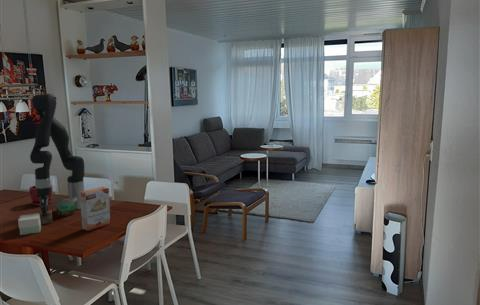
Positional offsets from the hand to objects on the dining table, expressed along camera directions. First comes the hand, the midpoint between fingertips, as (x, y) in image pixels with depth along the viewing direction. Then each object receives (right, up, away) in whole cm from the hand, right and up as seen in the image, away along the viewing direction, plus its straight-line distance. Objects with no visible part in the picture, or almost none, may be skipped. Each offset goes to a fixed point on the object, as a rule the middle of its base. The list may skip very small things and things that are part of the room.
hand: (45, 214), depth 203 cm
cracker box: (+31, -6, -5) cm, 32 cm away
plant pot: (-21, +1, +35) cm, 41 cm away
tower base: (-1, -7, -12) cm, 14 cm away
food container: (+6, -3, +12) cm, 14 cm away
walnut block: (+1, -5, +1) cm, 5 cm away
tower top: (-1, -3, -12) cm, 13 cm away
